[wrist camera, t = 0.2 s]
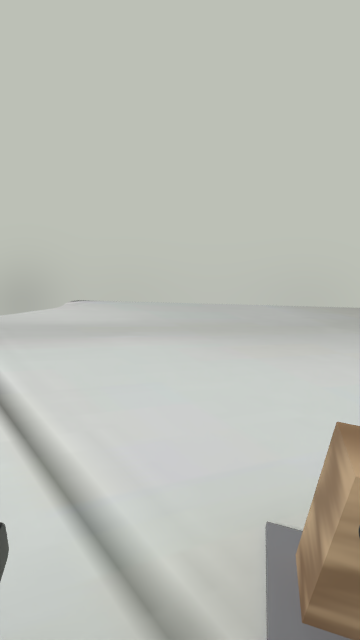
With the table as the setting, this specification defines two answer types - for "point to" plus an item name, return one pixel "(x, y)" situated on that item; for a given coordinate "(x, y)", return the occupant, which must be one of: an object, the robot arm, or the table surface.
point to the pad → (286, 588)
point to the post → (333, 541)
